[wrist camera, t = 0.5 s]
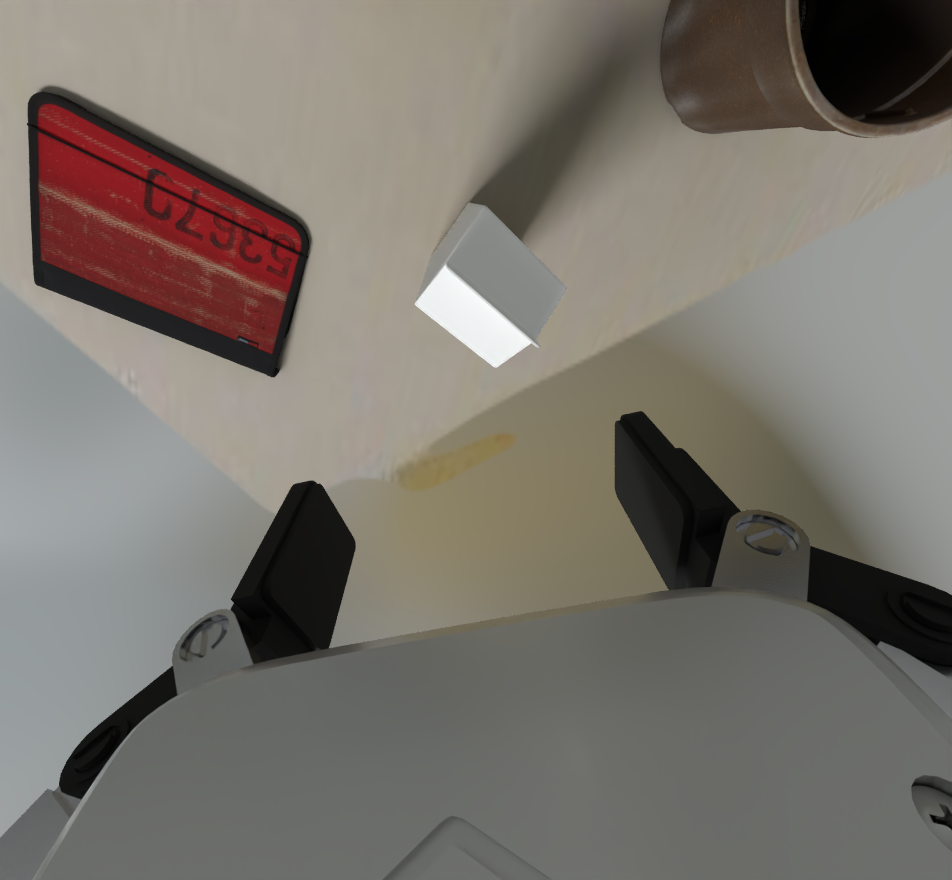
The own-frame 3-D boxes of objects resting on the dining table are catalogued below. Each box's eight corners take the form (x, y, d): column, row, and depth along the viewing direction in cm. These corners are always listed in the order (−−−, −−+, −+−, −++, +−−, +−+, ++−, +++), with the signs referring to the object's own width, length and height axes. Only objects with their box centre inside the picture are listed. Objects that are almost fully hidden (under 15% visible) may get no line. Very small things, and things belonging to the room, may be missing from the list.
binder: (272, 380, 39) (30, 286, 33) (280, 372, 41) (53, 282, 35) (311, 227, 33) (15, 73, 26) (319, 226, 35) (45, 83, 28)
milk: (476, 298, 38) (500, 395, 20) (428, 257, 36) (405, 323, 17) (516, 247, 35) (587, 303, 17) (468, 199, 33) (490, 205, 15)
